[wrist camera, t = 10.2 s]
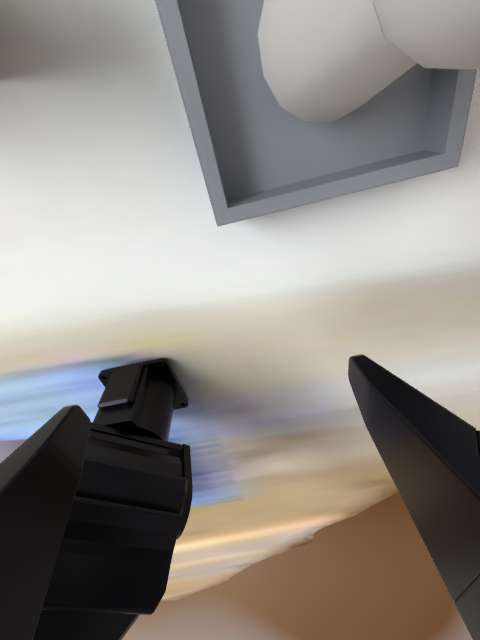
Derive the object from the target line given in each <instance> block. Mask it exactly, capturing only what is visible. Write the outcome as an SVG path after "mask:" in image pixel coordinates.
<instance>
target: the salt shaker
mask: <svg viewBox="0 0 480 640" xmlns="http://www.w3.org/2000/svg"><path fill="white" fill-rule="evenodd" d="M258 40H259V48H260V55H261V62H262V69H263V76H264V78H265V79H266V81H267V83H268V85H269V87H270V89H271V90H272V92H273V94H274V96H275V98H276V100H277V101H278V103H279V105H280V106H281V107H282V108H284V109H285V110H287V111H289V112H290V113H292V114H294V115H295V116H297V117H298V118H300V119H302V120H303V121H311V122H334V121H336V120H338V119H339V118H341V117H343V116H345V115H346V114H348V113H350V112H352V111H353V110H355V109H357V108H359V107H360V106H362V105H363V104H364V103H366V102H367V101H368V100H370V99H371V98H372V97H374V96H375V95H376V94H378V93H379V92H380V91H381V90H383V89H384V88H385V87H387V86H388V85H389V84H391V83H392V82H393V81H395V80H396V79H397V78H398V77H400V76H401V75H402V74H404V73H405V72H406V71H408V70H409V69H410V68H411V67H413V66H414V65H415V64H417V63H418V64H420V65H421V66H422V67H424V68H439V69H471V70H473V69H480V0H264V3H263V8H262V14H261V19H260V24H259V29H258Z"/></svg>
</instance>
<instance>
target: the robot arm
mask: <svg viewBox="0 0 480 640" xmlns="http://www.w3.org/2000/svg"><path fill="white" fill-rule="evenodd" d="M162 364H164V365H162ZM348 377H349V381H350V384H351V387H352V390H353V392H354V395H355V398H356V401H357V403H358V406H359V409H360V411H361V414H362V417H363V420H364V422H365V425H366V427H367V429H368V431H369V433H370V435H371V437H372V439H373V441H374V443H375V445H376V447H377V449H378V451H379V453H380V455H381V457H382V459H383V461H384V463H385V465H386V467H387V469H388V471H389V473H390V475H391V477H392V479H393V481H394V483H395V485H396V487H397V489H398V491H399V493H400V495H401V497H402V499H403V501H404V503H405V505H406V507H407V509H408V511H409V513H410V515H411V517H412V519H413V521H414V523H415V525H416V527H417V529H418V531H419V533H420V535H421V537H422V539H423V541H424V543H425V545H426V546H427V549H428V551H429V553H430V555H431V557H432V559H433V561H434V563H435V565H436V567H437V569H438V571H439V573H440V575H441V576H442V579H443V581H444V583H445V585H446V587H447V589H448V591H449V592H450V594H451V597H452V598H453V600H454V601H455V605H456V607H457V609H458V611H459V613H460V615H461V617H462V619H463V621H464V623H465V625H466V627H467V629H468V631H469V633H470V635H471V637H472V639H473V640H480V431H479V430H477V431H476V428H474V427H473V426H471V425H470V424H468V423H467V422H465V421H464V420H462V419H461V418H459V417H458V416H456V415H455V414H453V413H452V412H450V411H449V410H447V409H446V408H444V407H443V406H441V405H439V404H438V403H436V402H435V401H433V400H432V399H430V398H429V397H427V396H426V395H424V394H423V393H421V392H420V391H418V390H417V389H415V388H414V387H412V386H411V385H409V384H407V383H406V382H404V381H403V380H401V379H400V378H398V377H397V376H395V375H394V374H392V373H391V372H389V371H388V370H386V369H385V368H383V367H382V366H380V365H379V364H377V363H376V362H374V361H372V360H371V359H369V358H368V357H366V356H365V355H355V356H351V357H350V358H349V369H348ZM98 378H99V379H100V381H101V382H102V383H103V385H104V386H105V387H106V388H105V390H104V392H103V395H102V397H101V399H100V401H99V404H98V407H99V410H98V412H97V414H96V416H95V419H94V421H93V423H91V422H90V419H89V417H88V416H87V415H86V414H85V412H84V411H83V410H82V409H81V407H80V406H78V405H71V406H66V407H64V408H62V409H61V410H60V411H59V412H58V413H57V414H55V415H54V416H53V417H52V418H51V419H50V420H49V421H48V422H46V423H45V424H44V425H43V426H42V427H41V428H40V429H39V430H37V431H36V432H35V433H34V434H33V435H32V436H31V437H30V438H28V439H27V440H26V441H25V442H24V443H23V444H22V445H21V446H19V447H18V448H17V449H16V450H15V451H14V452H13V453H12V454H11V455H9V456H8V457H7V458H6V459H5V460H4V461H3V462H1V463H0V640H121V639H122V638H123V637H124V635H125V634H126V633H127V631H128V630H129V629H130V627H131V626H132V625H133V623H134V622H135V621H136V619H137V618H138V616H139V615H140V614H142V615H151V614H152V613H153V612H154V611H155V609H156V607H157V606H158V604H159V602H160V600H161V598H162V597H163V595H164V593H165V591H166V586H167V581H168V575H169V570H170V564H171V559H172V554H173V550H174V546H175V542H176V539H178V538H179V537H180V536H181V534H182V532H183V530H184V528H185V525H186V523H187V519H188V516H189V512H190V507H191V501H192V473H191V457H190V446H189V445H185V444H183V445H180V444H176V443H172V442H168V437H169V431H170V426H171V420H172V414H173V410H175V409H180V408H185V407H187V406H188V402H189V401H188V399H187V397H186V395H185V393H184V391H183V389H182V387H181V385H180V383H179V381H178V380H177V378H176V376H175V374H174V372H173V370H172V368H171V366H170V364H169V362H168V361H167V360H166V359H164V358H160V359H156V360H151V361H146V362H141V363H137V364H132V365H127V366H122V367H117V368H113V369H108V370H103V371H101V372H100V374H99V376H98Z"/></svg>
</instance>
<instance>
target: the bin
mask: <svg viewBox="0 0 480 640" xmlns="http://www.w3.org/2000/svg"><path fill="white" fill-rule="evenodd" d="M155 1H156V4H157V8H158V12H159V15H160V19H161V23H162V26H163V30H164V33H165V37H166V41H167V44H168V48H169V52H170V55H171V59H172V63H173V66H174V70H175V74H176V77H177V81H178V84H179V88H180V92H181V95H182V99H183V103H184V106H185V110H186V114H187V117H188V121H189V124H190V128H191V132H192V135H193V139H194V143H195V146H196V150H197V154H198V157H199V161H200V165H201V168H202V172H203V175H204V179H205V183H206V186H207V190H208V194H209V197H210V201H211V205H212V208H213V212H214V216H215V219H216V223H217V226H221V225H225V224H229V223H233V222H237V221H242V220H246V219H250V218H254V217H258V216H262V215H266V214H270V213H274V212H278V211H282V210H286V209H290V208H294V207H298V206H302V205H306V204H310V203H314V202H318V201H322V200H326V199H330V198H334V197H338V196H342V195H346V194H350V193H354V192H358V191H362V190H366V189H370V188H374V187H378V186H382V185H386V184H390V183H394V182H398V181H402V180H406V179H410V178H414V177H418V176H422V175H426V174H430V173H434V172H438V171H442V170H446V169H451V168H455V167H458V165H459V160H460V155H461V150H462V145H463V139H464V134H465V129H466V124H467V119H468V113H469V108H470V103H471V98H472V92H473V87H474V82H475V77H476V72H477V69H473V70H471V69H439V68H424V67H422V66H421V65H420V64H418V63H417V64H415V65H414V66H413V67H411V68H410V69H409V70H408V71H406V72H405V73H404V74H402V75H401V76H400V77H398V78H397V79H396V80H395V81H393V82H392V83H391V84H389V85H388V86H387V87H385V88H384V89H383V90H381V91H380V92H379V93H378V94H376V95H375V96H374V97H372V98H371V99H370V100H368V101H367V102H366V103H364V104H363V105H362V106H360V107H359V108H357V109H355V110H353V111H352V112H350V113H348V114H346V115H345V116H343V117H341V118H339V119H338V120H336V121H334V122H311V121H303V120H302V119H300V118H298V117H297V116H295V115H294V114H292V113H290V112H289V111H287V110H285V109H284V108H282V107H281V106H280V105H279V103H278V101H277V100H276V98H275V96H274V94H273V92H272V90H271V89H270V87H269V85H268V83H267V81H266V79H265V78H264V76H263V69H262V62H261V55H260V48H259V40H258V29H259V24H260V19H261V14H262V8H263V3H264V0H155Z"/></svg>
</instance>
